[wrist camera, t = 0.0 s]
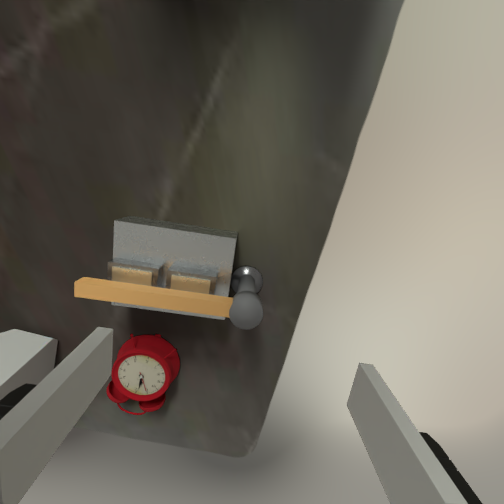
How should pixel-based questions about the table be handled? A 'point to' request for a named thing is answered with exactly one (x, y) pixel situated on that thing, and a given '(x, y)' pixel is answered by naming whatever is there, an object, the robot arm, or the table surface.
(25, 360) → the electronic device
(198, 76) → the table surface
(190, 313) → the grey boxy piece
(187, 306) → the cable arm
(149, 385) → the alarm clock
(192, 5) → the table surface
